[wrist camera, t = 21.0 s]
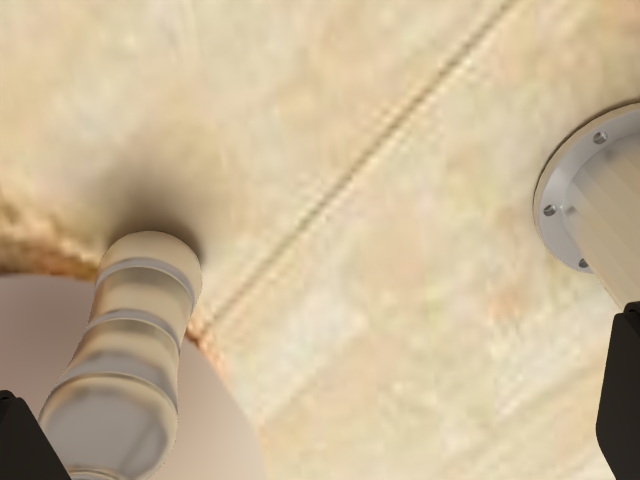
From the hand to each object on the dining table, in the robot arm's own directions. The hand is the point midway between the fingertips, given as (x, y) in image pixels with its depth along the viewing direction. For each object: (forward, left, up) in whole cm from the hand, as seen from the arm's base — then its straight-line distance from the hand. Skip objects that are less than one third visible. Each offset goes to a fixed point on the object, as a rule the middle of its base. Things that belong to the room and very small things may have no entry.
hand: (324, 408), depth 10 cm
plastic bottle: (+12, +15, -28) cm, 34 cm away
